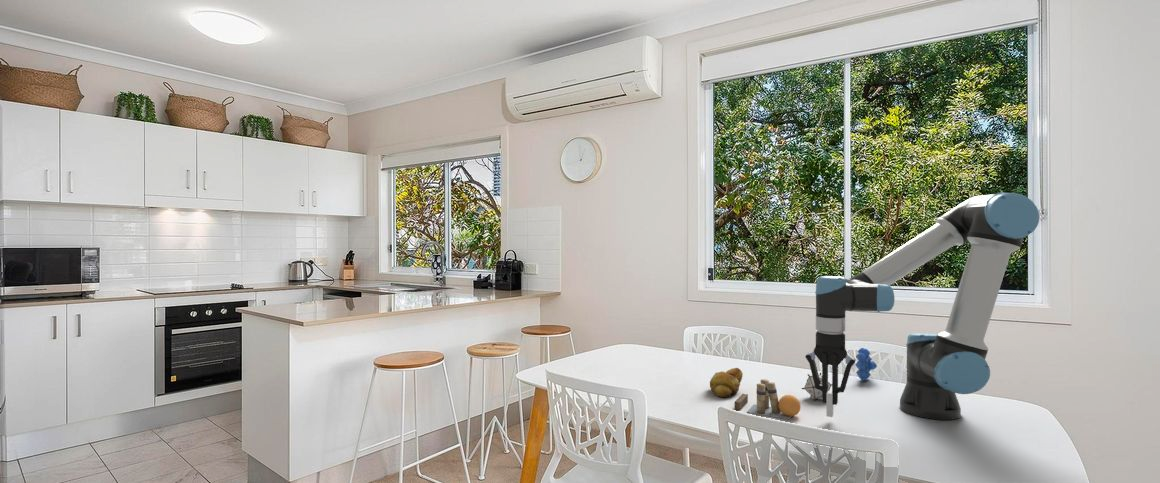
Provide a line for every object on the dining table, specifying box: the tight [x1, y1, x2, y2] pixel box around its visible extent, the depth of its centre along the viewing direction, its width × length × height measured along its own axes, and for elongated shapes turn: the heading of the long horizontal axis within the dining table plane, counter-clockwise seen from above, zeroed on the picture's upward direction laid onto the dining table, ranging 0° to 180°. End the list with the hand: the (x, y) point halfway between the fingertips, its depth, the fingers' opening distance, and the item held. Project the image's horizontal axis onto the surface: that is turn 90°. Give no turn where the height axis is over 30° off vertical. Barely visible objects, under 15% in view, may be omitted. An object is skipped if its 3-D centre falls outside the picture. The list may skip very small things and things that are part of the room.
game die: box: [801, 372, 832, 402], centre depth 172 cm, size 9×8×10 cm
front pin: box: [767, 381, 781, 413], centre depth 160 cm, size 2×2×8 cm
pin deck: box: [746, 404, 793, 421], centre depth 161 cm, size 12×8×1 cm, turn 58°
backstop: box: [734, 393, 749, 412], centre depth 166 cm, size 2×9×2 cm, turn 148°
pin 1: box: [755, 382, 765, 414], centre depth 160 cm, size 2×2×8 cm
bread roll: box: [709, 367, 743, 398], centre depth 179 cm, size 13×10×8 cm
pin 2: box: [760, 379, 770, 409], centre depth 164 cm, size 2×2×8 cm
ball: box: [778, 394, 802, 417], centre depth 157 cm, size 6×6×6 cm
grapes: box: [854, 347, 878, 382], centre depth 191 cm, size 12×7×12 cm, turn 139°
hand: (829, 415), depth 152 cm, fingers closed
